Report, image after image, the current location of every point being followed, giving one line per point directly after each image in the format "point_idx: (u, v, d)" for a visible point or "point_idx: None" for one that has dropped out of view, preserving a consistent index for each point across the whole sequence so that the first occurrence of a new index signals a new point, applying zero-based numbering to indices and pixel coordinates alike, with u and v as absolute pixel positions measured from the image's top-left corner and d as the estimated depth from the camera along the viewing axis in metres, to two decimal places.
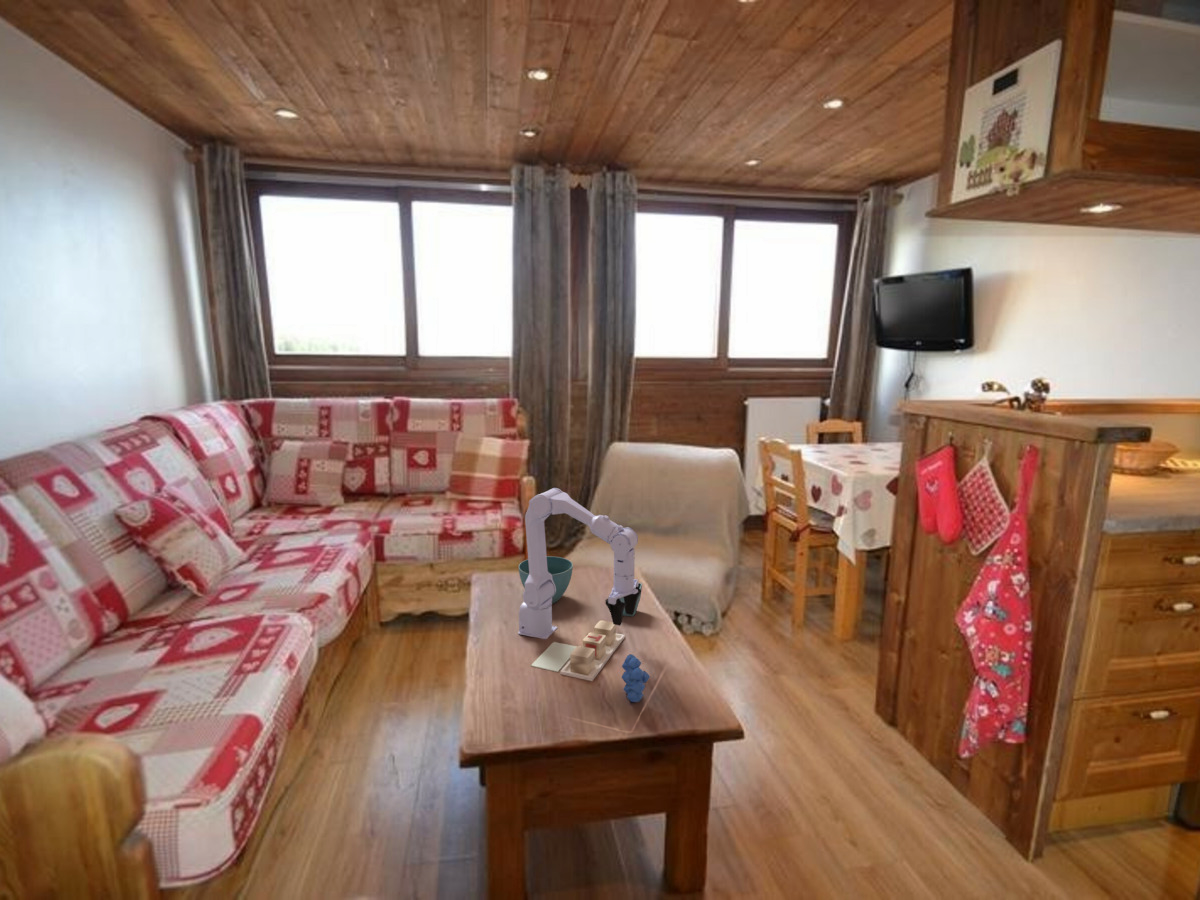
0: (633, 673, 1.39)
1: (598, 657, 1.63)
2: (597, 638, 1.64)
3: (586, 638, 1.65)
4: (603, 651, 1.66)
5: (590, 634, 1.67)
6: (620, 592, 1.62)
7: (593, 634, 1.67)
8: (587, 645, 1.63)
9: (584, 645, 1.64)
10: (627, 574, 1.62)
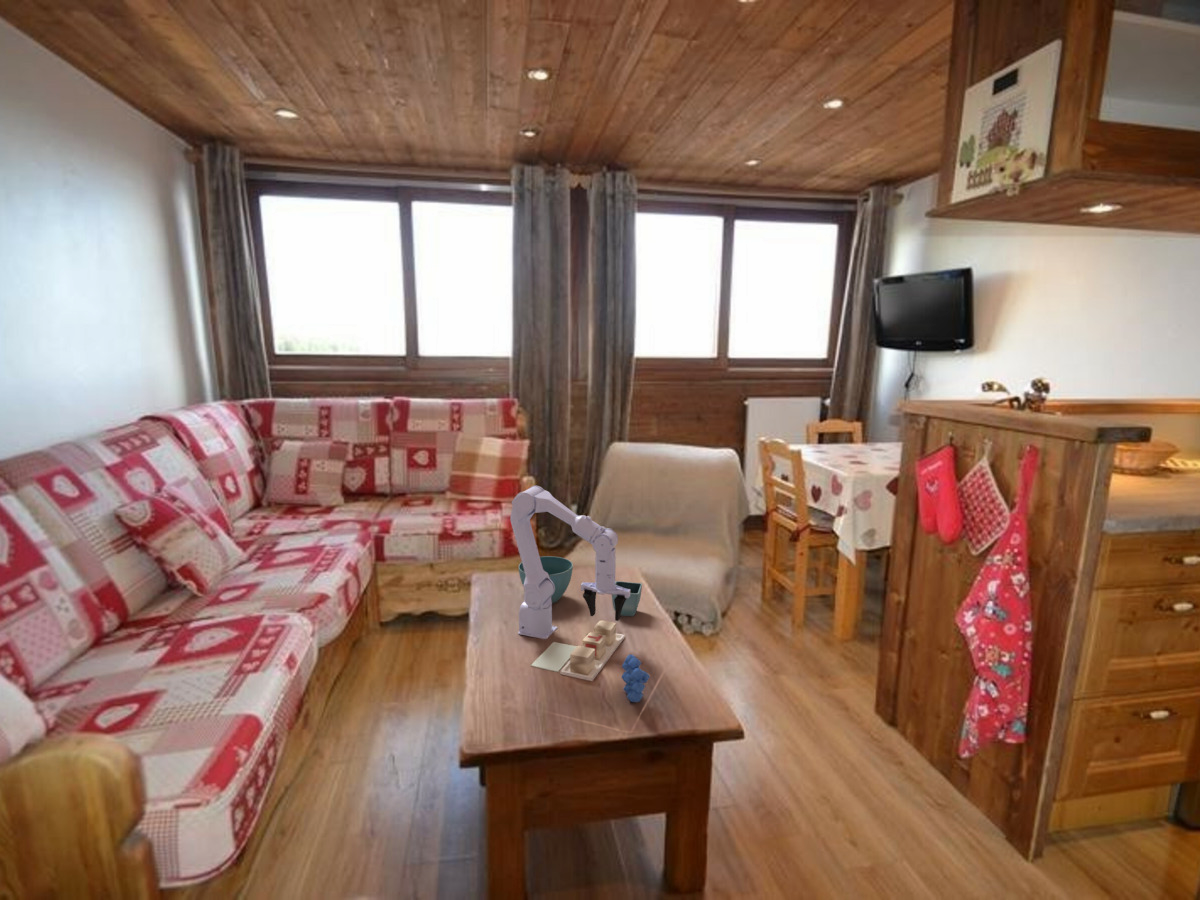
0: (633, 673, 1.39)
1: (598, 657, 1.63)
2: (597, 638, 1.64)
3: (586, 638, 1.65)
4: (603, 651, 1.66)
5: (590, 634, 1.67)
6: (595, 586, 1.71)
7: (593, 634, 1.67)
8: (587, 645, 1.63)
9: (584, 645, 1.64)
10: (609, 573, 1.67)
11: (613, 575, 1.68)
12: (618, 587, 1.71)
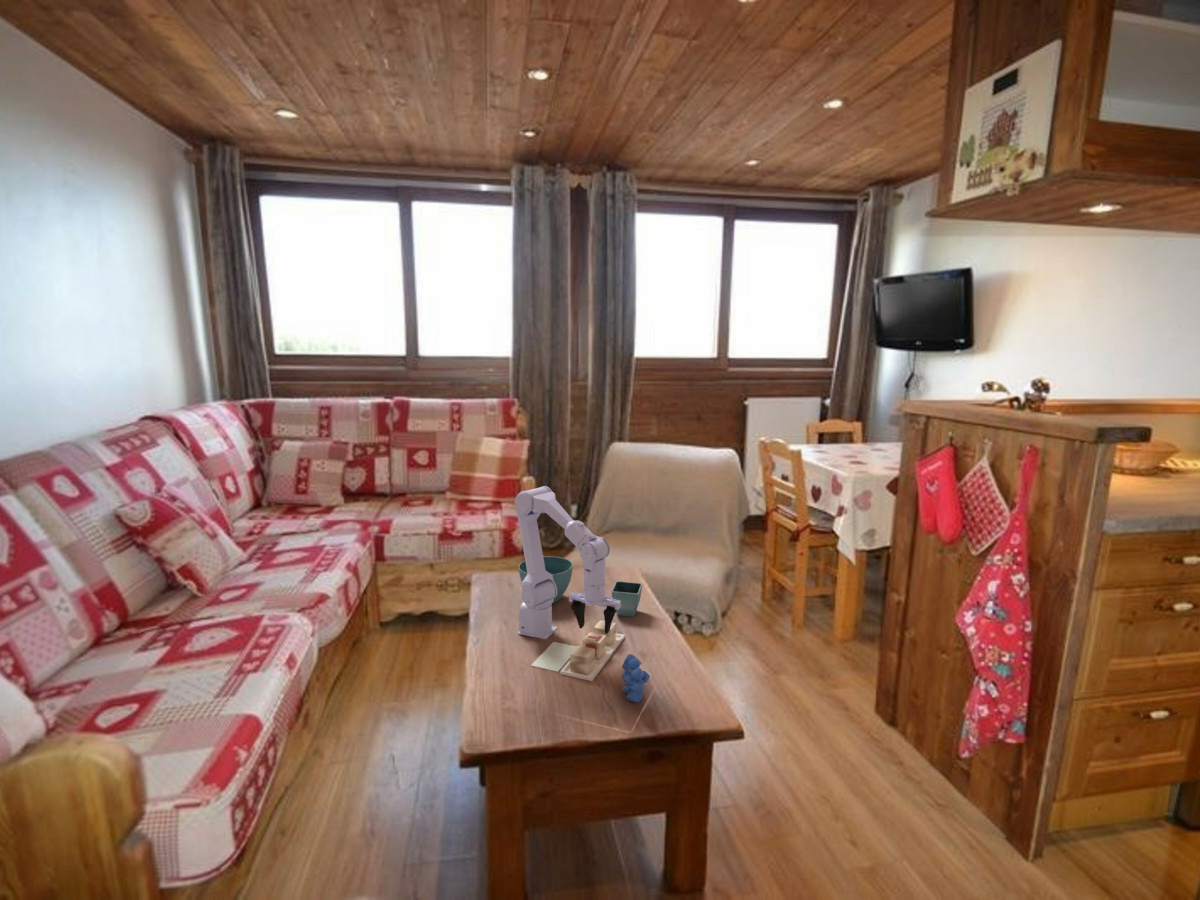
0: (633, 673, 1.39)
1: (598, 657, 1.63)
2: (597, 638, 1.64)
3: (586, 638, 1.65)
4: (603, 651, 1.66)
5: (590, 634, 1.67)
6: (583, 597, 1.64)
7: (593, 634, 1.67)
8: (587, 645, 1.63)
9: (584, 645, 1.64)
10: (594, 584, 1.59)
11: (602, 586, 1.61)
12: (608, 598, 1.63)
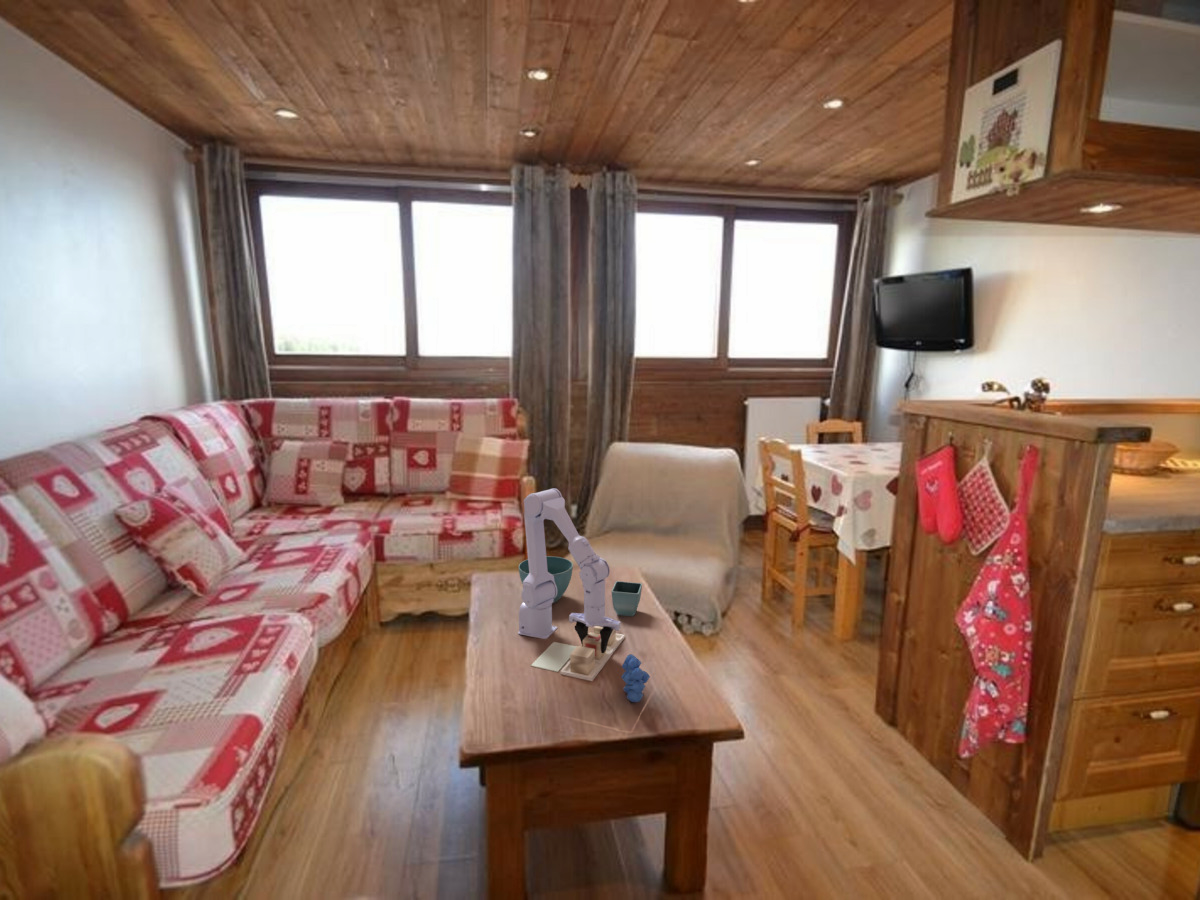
0: (633, 673, 1.39)
1: (598, 657, 1.63)
2: (597, 638, 1.64)
3: (586, 638, 1.65)
4: None
5: (590, 634, 1.67)
6: (583, 617, 1.65)
7: (593, 634, 1.67)
8: (587, 645, 1.63)
9: (584, 645, 1.64)
10: (594, 605, 1.60)
11: (602, 607, 1.62)
12: (608, 619, 1.64)
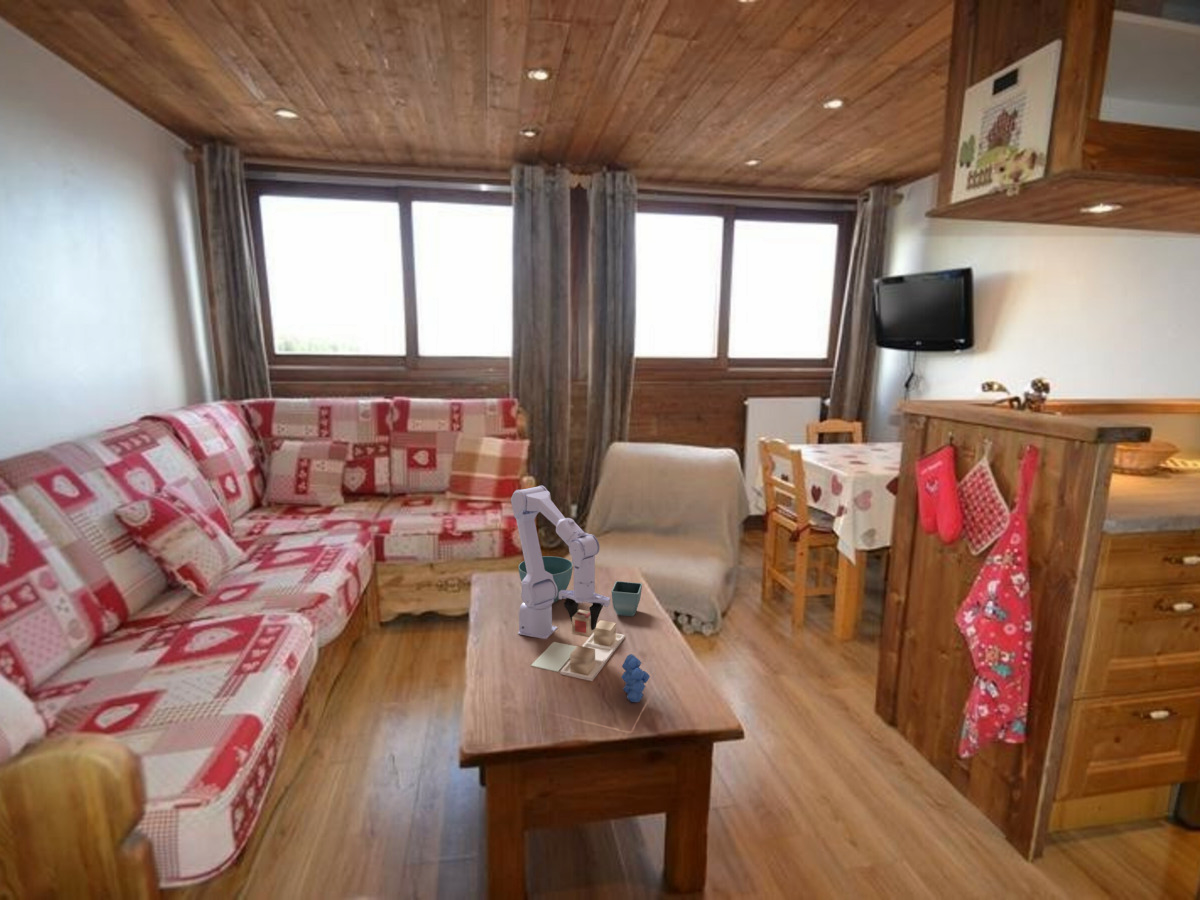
0: (633, 673, 1.39)
1: (588, 634, 1.61)
2: (587, 615, 1.63)
3: (576, 615, 1.63)
4: None
5: (580, 611, 1.66)
6: (573, 594, 1.63)
7: (583, 611, 1.66)
8: (577, 622, 1.62)
9: (574, 622, 1.62)
10: (583, 581, 1.59)
11: (592, 583, 1.60)
12: (597, 595, 1.63)
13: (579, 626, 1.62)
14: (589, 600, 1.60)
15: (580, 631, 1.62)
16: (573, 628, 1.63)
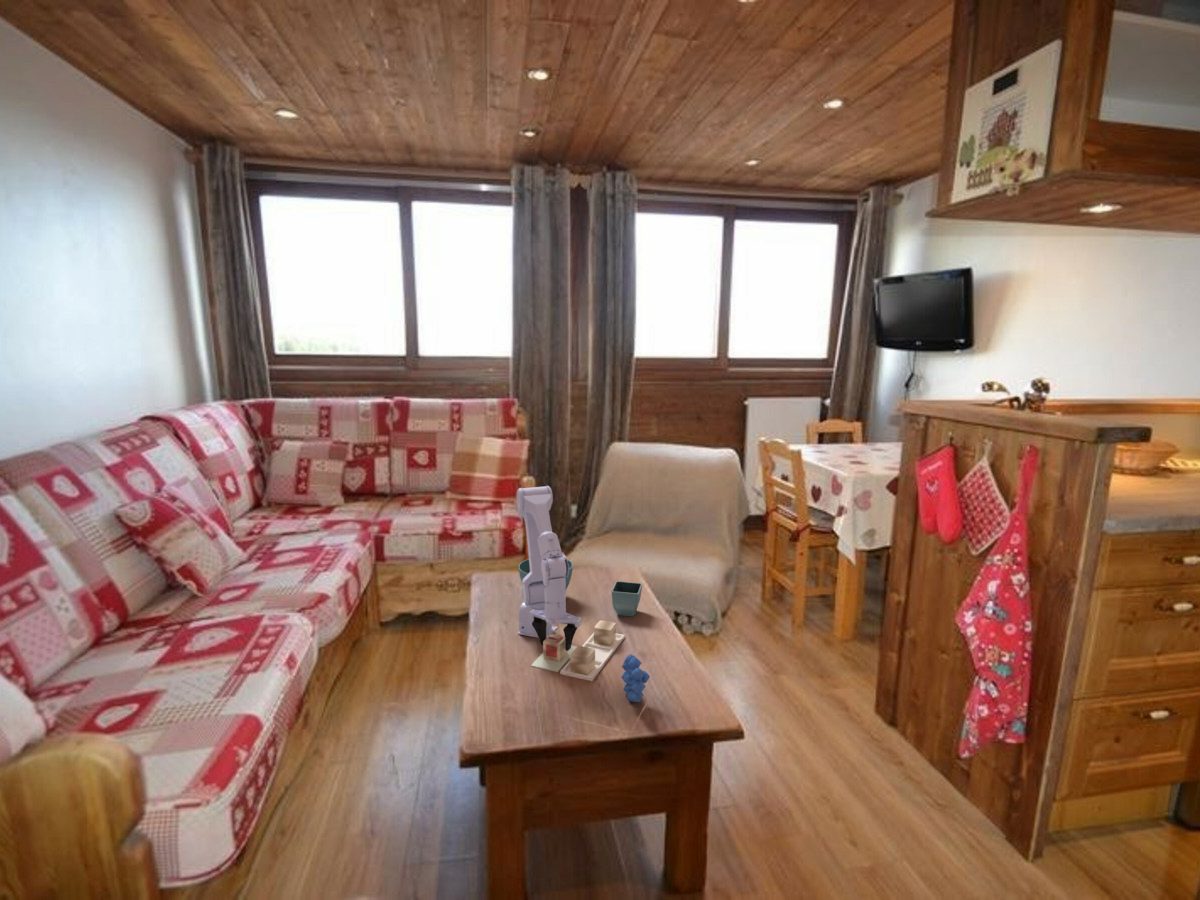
0: (633, 673, 1.39)
1: (558, 658, 1.61)
2: (558, 639, 1.63)
3: (547, 639, 1.63)
4: (565, 652, 1.64)
5: (551, 635, 1.66)
6: (544, 614, 1.63)
7: (554, 635, 1.66)
8: (547, 646, 1.62)
9: (545, 646, 1.62)
10: (549, 601, 1.59)
11: (563, 603, 1.60)
12: (569, 615, 1.63)
13: (550, 651, 1.62)
14: (560, 620, 1.60)
15: (551, 656, 1.62)
16: (544, 652, 1.63)
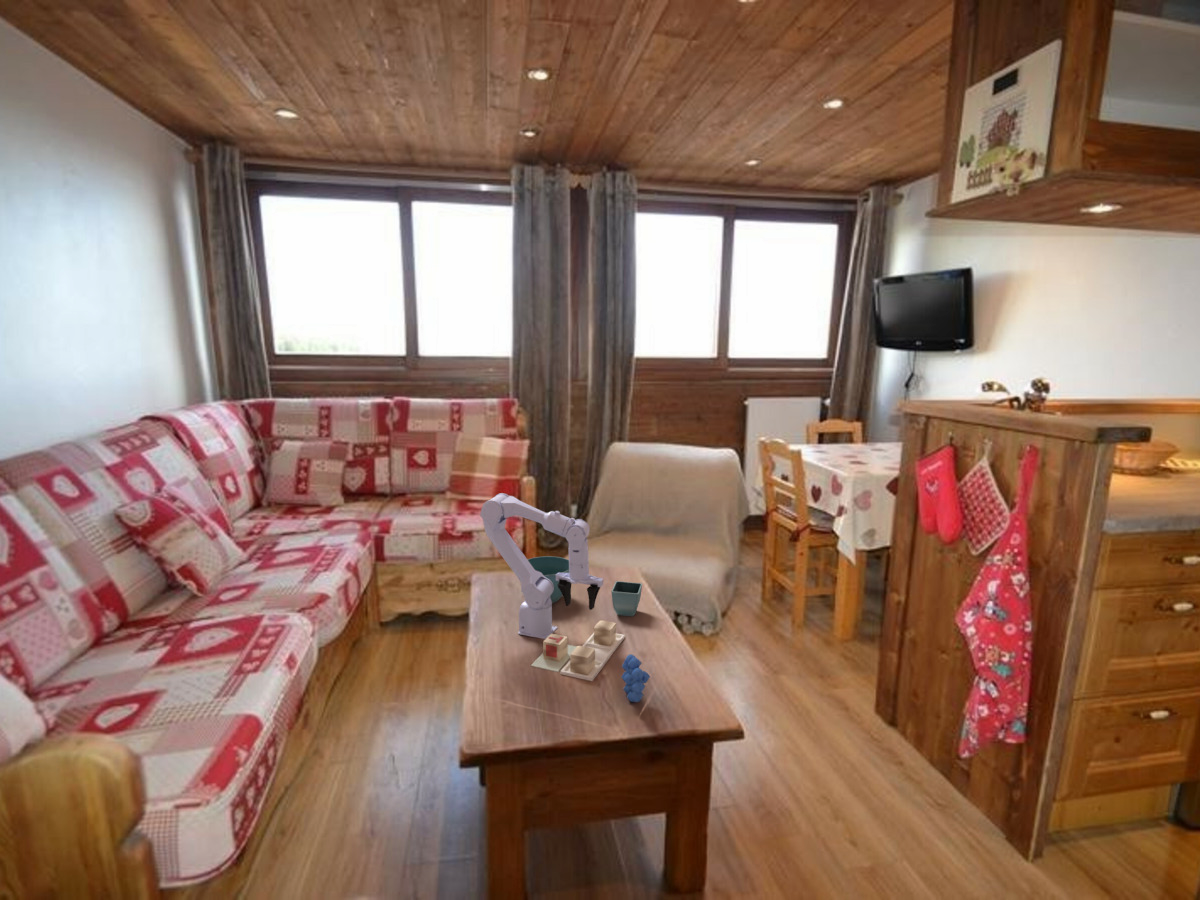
0: (633, 673, 1.39)
1: (558, 658, 1.61)
2: (558, 639, 1.63)
3: (547, 639, 1.63)
4: (565, 652, 1.64)
5: (551, 635, 1.66)
6: (569, 576, 1.75)
7: (554, 635, 1.66)
8: (547, 646, 1.62)
9: (545, 646, 1.62)
10: (583, 563, 1.71)
11: (586, 565, 1.72)
12: (592, 577, 1.74)
13: (550, 651, 1.62)
14: (583, 581, 1.71)
15: (551, 656, 1.62)
16: (544, 652, 1.63)
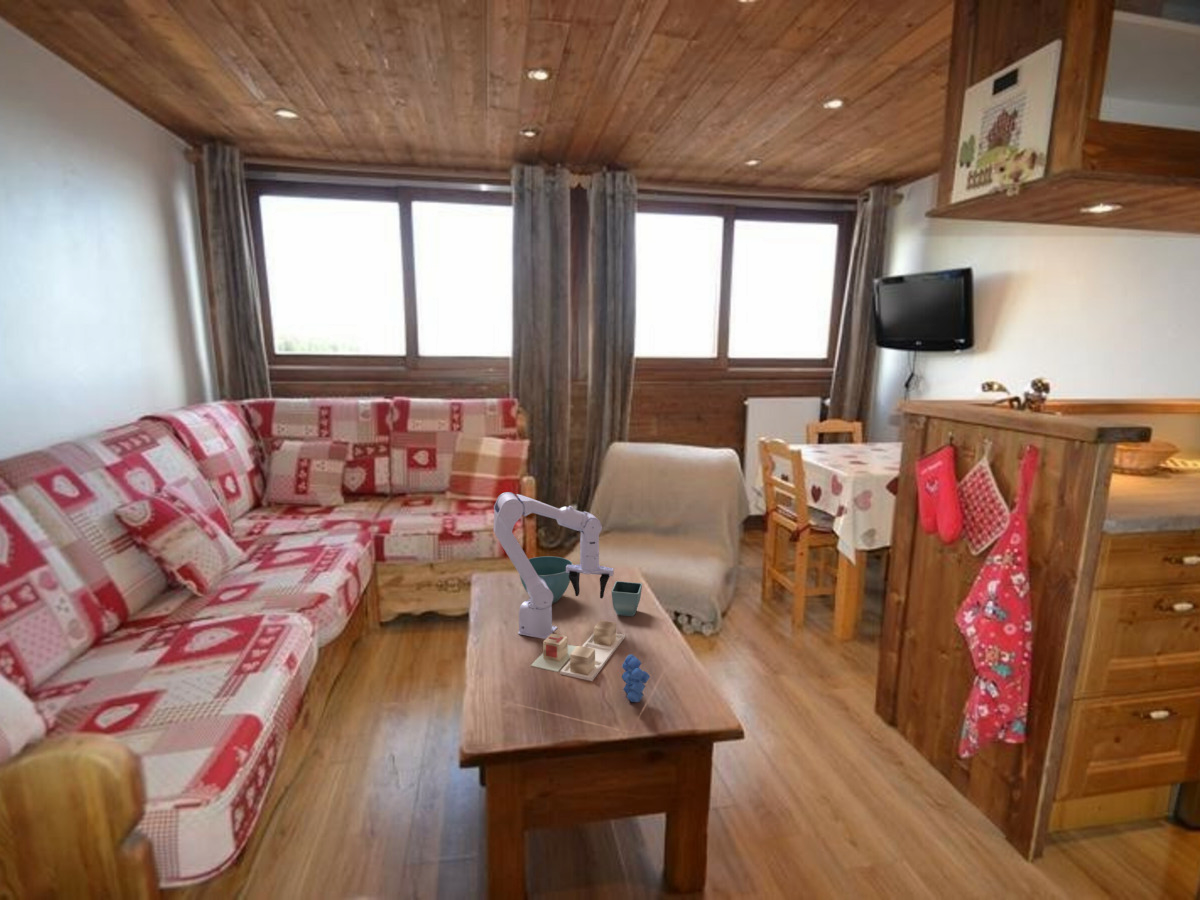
0: (633, 673, 1.39)
1: (558, 658, 1.61)
2: (558, 639, 1.63)
3: (547, 639, 1.63)
4: (565, 652, 1.64)
5: (551, 635, 1.66)
6: (579, 567, 1.82)
7: (554, 635, 1.66)
8: (547, 646, 1.62)
9: (545, 646, 1.62)
10: (597, 553, 1.79)
11: (597, 556, 1.80)
12: (601, 567, 1.82)
13: (550, 651, 1.62)
14: (596, 571, 1.79)
15: (551, 656, 1.62)
16: (544, 652, 1.63)
